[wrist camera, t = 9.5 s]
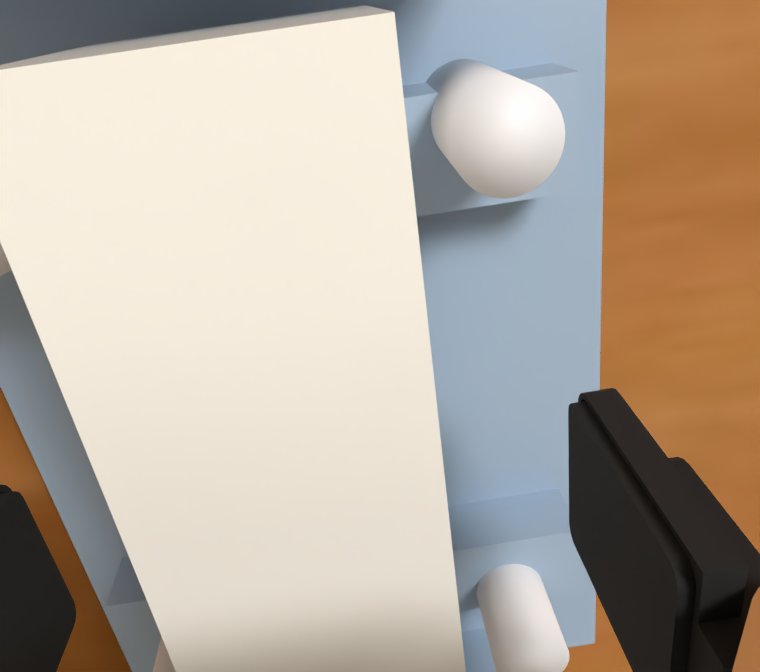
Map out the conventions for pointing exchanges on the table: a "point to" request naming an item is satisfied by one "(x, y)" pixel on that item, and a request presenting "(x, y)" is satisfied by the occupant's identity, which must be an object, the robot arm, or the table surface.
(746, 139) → the table surface
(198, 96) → the clay bar
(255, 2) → the rack
